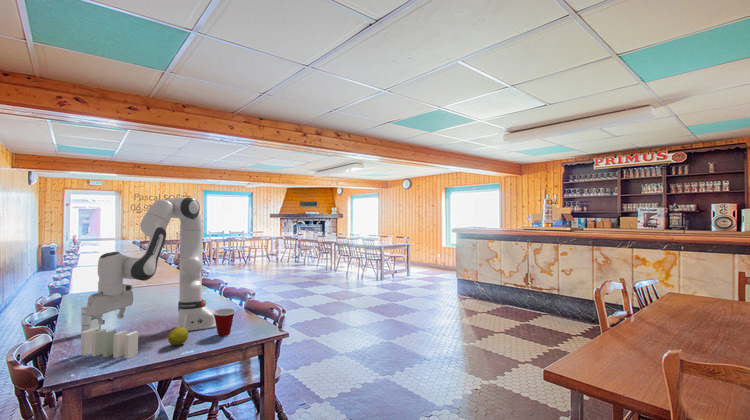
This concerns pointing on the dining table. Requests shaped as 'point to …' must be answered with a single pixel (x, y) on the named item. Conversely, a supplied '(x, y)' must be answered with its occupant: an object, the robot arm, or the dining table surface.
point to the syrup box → (88, 321)
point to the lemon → (178, 336)
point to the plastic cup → (224, 320)
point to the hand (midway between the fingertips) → (111, 321)
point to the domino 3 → (108, 343)
